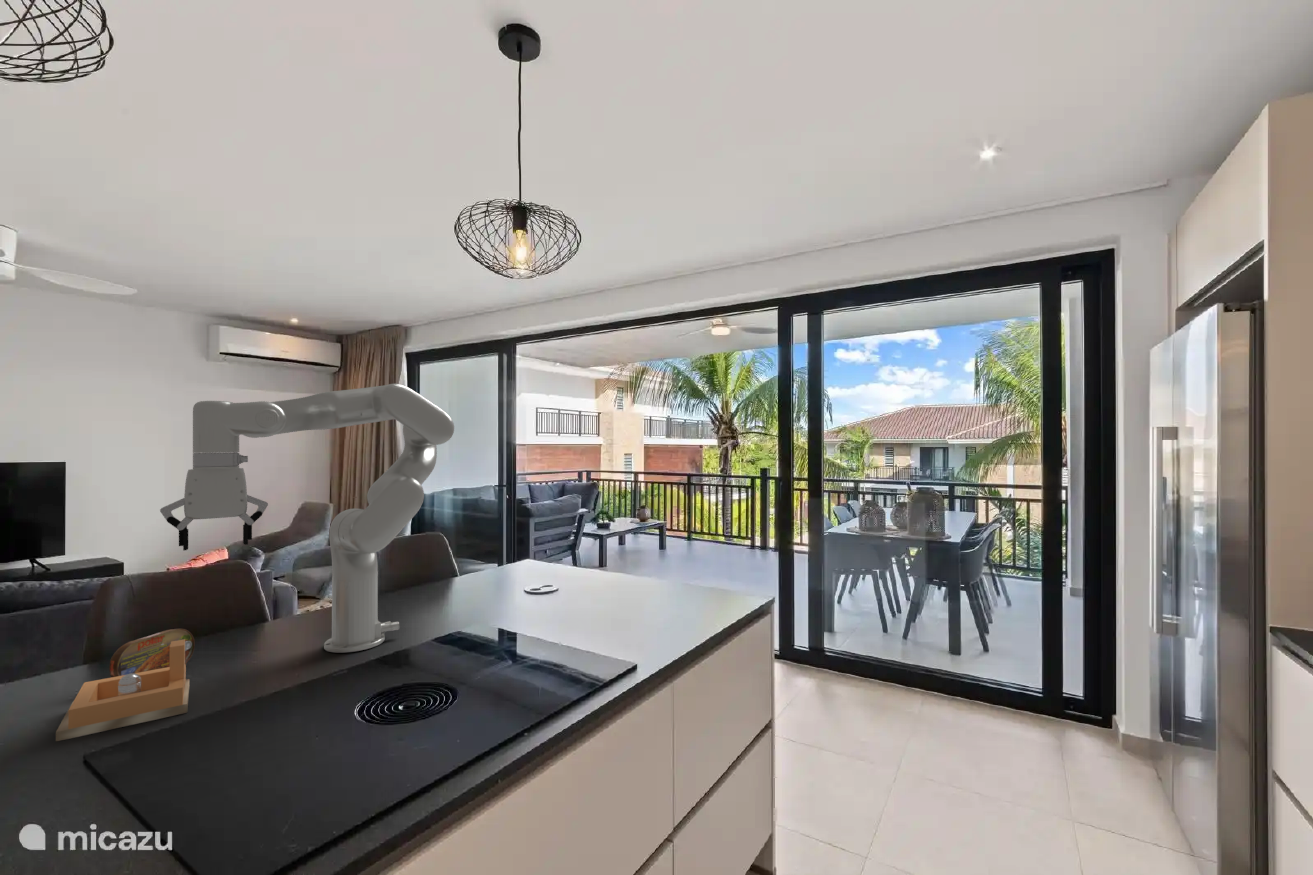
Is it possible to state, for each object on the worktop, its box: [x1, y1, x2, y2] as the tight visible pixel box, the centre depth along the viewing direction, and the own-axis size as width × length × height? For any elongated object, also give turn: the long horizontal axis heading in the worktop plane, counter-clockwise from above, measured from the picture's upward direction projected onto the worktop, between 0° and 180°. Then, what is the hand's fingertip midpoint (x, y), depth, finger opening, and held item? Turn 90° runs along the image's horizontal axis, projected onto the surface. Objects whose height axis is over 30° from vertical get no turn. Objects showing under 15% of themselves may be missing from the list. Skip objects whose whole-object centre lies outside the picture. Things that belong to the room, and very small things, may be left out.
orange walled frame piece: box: [68, 639, 187, 729], centre depth 101 cm, size 14×14×9 cm
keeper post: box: [118, 673, 141, 696], centre depth 101 cm, size 3×3×5 cm
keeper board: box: [55, 678, 191, 742], centre depth 101 cm, size 16×14×2 cm
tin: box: [108, 628, 196, 678], centre depth 117 cm, size 15×3×8 cm, turn 168°
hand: (216, 546), depth 117 cm, fingers open, 9 cm apart
